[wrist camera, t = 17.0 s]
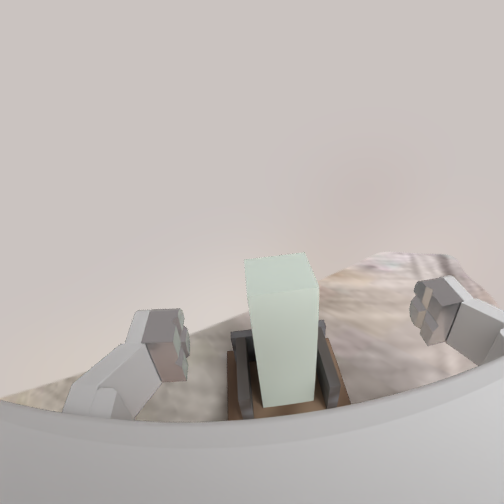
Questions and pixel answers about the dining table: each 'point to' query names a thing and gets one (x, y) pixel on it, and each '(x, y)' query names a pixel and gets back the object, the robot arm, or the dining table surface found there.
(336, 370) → the bracket socket
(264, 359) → the pale green block
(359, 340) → the dining table surface
